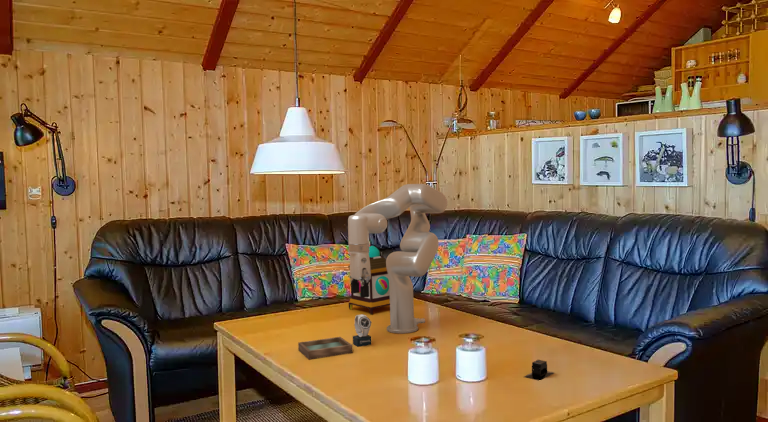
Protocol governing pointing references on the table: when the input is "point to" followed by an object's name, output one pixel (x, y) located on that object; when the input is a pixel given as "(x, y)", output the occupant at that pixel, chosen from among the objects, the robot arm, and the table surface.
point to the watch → (362, 326)
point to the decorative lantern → (374, 284)
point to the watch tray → (325, 348)
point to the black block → (539, 370)
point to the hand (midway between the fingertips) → (359, 295)
